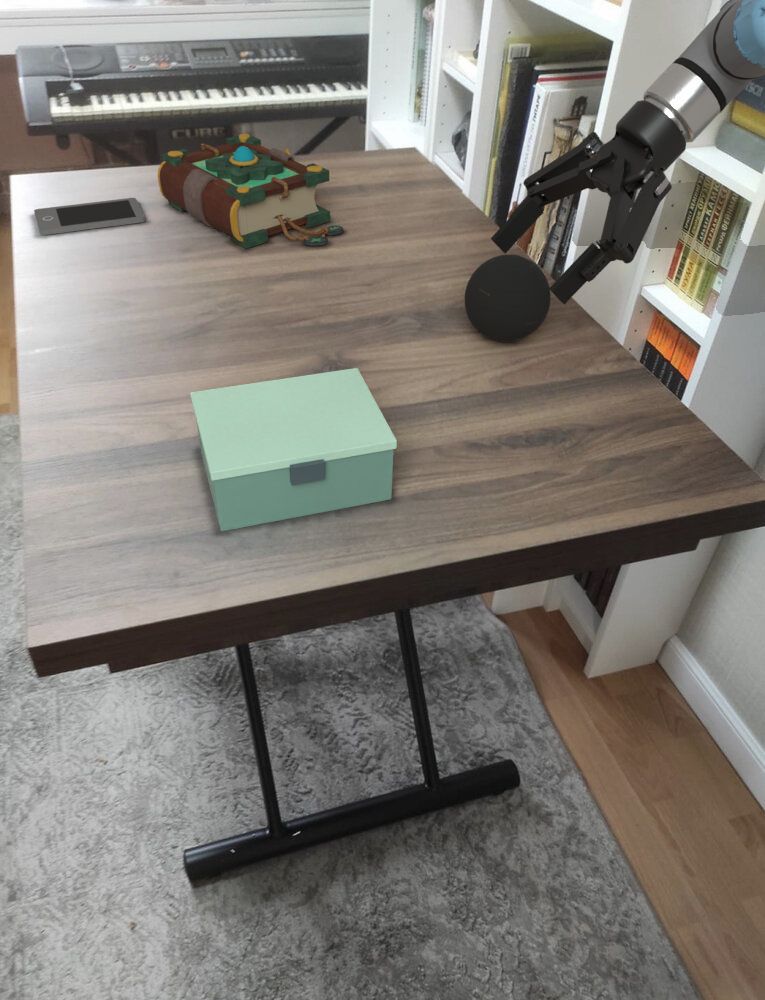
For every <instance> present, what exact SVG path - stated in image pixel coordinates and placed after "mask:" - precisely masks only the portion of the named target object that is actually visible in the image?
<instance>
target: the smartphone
mask: <svg viewBox="0 0 765 1000" xmlns="http://www.w3.org/2000/svg"><path fill="white" fill-rule="evenodd" d="M33 212H34V216H35V221H36V224H37V227H38V233H39V235H40V236H48V235H54V234H63V233H70V232H78V231H86V230H94V229H102V228H110V227H116V226H117V227H118V226H125V225H133V224H139V223H144V222H146V218H145V214H144V212H143V211H142V208H141V207H140V204H139V203H138V200H137V198H136V197H127V198H118V199H108V200H101V201H91V202H83V203H76V204H67V205H60V206H51V207H43V208H36V209H33Z"/></svg>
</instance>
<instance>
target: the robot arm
mask: <svg viewBox="0 0 765 1000" xmlns="http://www.w3.org/2000/svg"><path fill="white" fill-rule="evenodd" d="M763 76H765V0H726V2H725V3H724V4H723V5H722V6H721V8H720V9H719V12H718V13H717V14H716V15H715V16H714V17H713V18H712V19H711V20H710V22H709V23H707V25H706V26H705V27H704V28H703V29H702V31H700V32H699V33H698V35H697V36H696V37H695V38H694V39H693V40H692V41H691V43H690V44H689V45H688V46H687V47H686V48H685V49H684V51H683V52H682V53H681V54H679V56H678V57H677V58H676V59H675V60H674V61H673V62H672V63H671V64H670V65H669V66H668V67H667V68H666V69H665V70H664V71H663V72H662V73H661V74H660V75H659V76H658V77H657V78H656V80H654V82H653V83H652V84H651V85H650V86H649V87H648V88H647V89H646V90H645V91H644V92H643V97H642V98H643V100H637V101H636V102H635V103H634V104H633V105H632V106H631V107H630V108H629V109H628V110H627V111H626V113H625V114H623V116H622V117H621V118H620V119H618V121H617V123H616V125H615V134H614V136H613V137H612V138H611V139H610V140H608V141H607V142H605V143H604V142H603V140H602V139H601V138H600V136H599V135H598V133H597V132H596V131H592V132H590V133H589V134H587V136H586V137H585V138H584V139H583V140H582V141H581V142H580V143H579V144H578V145H576V146H574V147H573V148H571V149H570V150H568V151H566V152H565V153H563V154H562V155H560V156H559V157H557V158H556V159H553V160H552V161H551V162H549V163H548V164H546V165H545V166H543V167H542V168H540V169H539V170H537V171H536V172H533V173H532V174H531V175H529V176H527V177H526V178H525V179H524V180H523V183H522V184H523V186H524V187H525V189H526V196H525V197H524V198H523V200H521V202H520V203H518V205H517V206H516V207H515V208H514V210H513V211H512V212H510V215H509V218H507V220H506V221H505V222H504V223H503V224H502V225H501V226H500V227H499V228H498V230H497V231H496V232H495V233H494V234H493V235H492V236H491V238H490V240H491V241H492V243H494V244H495V245H496V246H497V247H498V248H499V250H500V251H501V252H502V253H504V255H507V253H508V251H510V249H511V248H512V247H513V246H514V245H516V243H517V242H518V241H519V240H520V239H521V238H522V237H523V236H524V234H525V233H526V232H527V231H528V230H529V229H530V228H531V227H532V226H533V224H535V222H537V220H538V219H539V218H540V217H541V216H542V215H543V214H544V211H545V206H548V205H550V204H552V203H554V202H557V201H560V200H562V199H564V198H566V197H567V198H568V197H570V196H572V195H574V194H577V193H580V192H582V191H585V190H588V189H589V190H595V189H597V190H598V191H600V192H602V193H606V194H607V195H608V196H609V198H610V200H609V203H608V206H607V211H606V214H605V220H604V224H603V228H602V233H601V236H600V239H598V240H596V241H595V243H596V244H595V243H594V242H591V243H590V245H589V246H588V247H587V248H586V249H585V250H584V251H583V252H582V253H581V254H580V255H579V256H578V257H577V258H576V259H575V260H574V261H573V262H572V263H571V264H570V266H569V267H567V269H566V270H565V271H563V273H561V275H560V276H559V277H558V278H557V279H556V280H555V281H554V282H553V283H552V284H551V286H549V287H550V288H549V289H550V292H551V293H552V294H553V295H554V296H555V297H556V298H557V299H558V300H559V301H560V302H561V303H562V304H563V305H564V306H565V305H566V304H567V302H568V301H569V300H570V299H572V298H573V297H574V295H575V294H576V293H577V292H579V290H580V289H581V288H582V287H583V286H584V285H585V284H586V283H587V282H588V283H590V282H592V281H593V280H595V278H596V277H597V276H599V274H600V273H601V272H602V271H603V270H604V269H605V268H606V267H607V266H608V265H609V264H610V263H611V262H615V261H622V263H624V264H626V265H627V264H630V263H632V262H633V260H634V259H635V257H636V255H637V252H638V250H639V249H640V247H641V244H642V241H643V240H644V238H645V235H646V233H647V231H648V229H649V227H650V225H651V223H652V220H653V218H654V217H655V214H656V212H657V210H658V207H659V205H660V203H661V202H662V201H663V200H664V198H666V196H667V195H668V194H669V192H670V191H671V190H672V188H673V185H672V183H671V182H670V180H669V178H668V177H667V175H666V173H665V172H666V171H667V170H668V169H669V168H670V167H671V165H673V164H674V162H675V161H677V159H678V158H679V157H680V156H681V155H682V154H683V153H684V152H685V151H686V149H687V148H686V147H687V143H693V142H695V140H696V139H697V138H698V137H699V136H700V135H701V134H702V133H703V132H704V131H705V129H706V128H708V126H709V125H711V123H712V122H713V121H714V120H715V119H716V118H717V117H718V116H719V115H720V114H721V113H722V112H723V111H724V110H725V108H726V107H727V106H728V105H729V104H730V103H731V102H732V101H733V100H734V99H735V98H736V97H738V95H740V93H741V92H742V91H743V90H744V89H745V88H746V87H747V86H748V85H749V84H750V83H751V82H752V81H754V80H755V79H758V78H761V77H763ZM638 190H639V192H638ZM637 192H638V193H637Z"/></svg>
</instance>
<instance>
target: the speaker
mask: <svg viewBox="0 0 765 1000" xmlns="http://www.w3.org/2000/svg"><path fill="white" fill-rule="evenodd" d="M550 287H551V286H550V284H549V281H548V279H547V276H546V274H545V273H544V272H543V270H542V269H541V268H540V267H539V266H538V264H536V263H535V262H534V261H532V260H530V259H528V258H527V257H525V256H521V255H518V254H501V255H496V256H494V257H491V258H489V259H487V260H486V261H484V262H483V263H481V264H480V265H479V266H478V267H477V268H476V269H475V270H474V271H473V273H472V274H471V276H470V277H469V279H468V282H467V284H466V287H465V292H464V308H465V313H466V315H467V318H468V321H470V323H471V325H472V326H473V327H474V329H475V330H476V331H477V332H478V333H480V334H481V335H482V336H484V337H486V338H488V339H490V340H492V341H495V342H501V343H510V342H511V343H512V342H516V341H517V342H518V341H520V340H523V339H525V338H527V337H529V336H530V335H532V334H533V333H535V332H536V331H537V330H538V329H539V328H540V326H541V325H542V324H543V323H544V321H545V320H546V318H547V315H548V313H549V309H550V307H551V298H552V297H551V296H552V295H551V290H550V289H549V288H550Z"/></svg>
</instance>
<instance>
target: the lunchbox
mask: <svg viewBox="0 0 765 1000" xmlns="http://www.w3.org/2000/svg"><path fill="white" fill-rule="evenodd" d="M189 397H190V400H191V405H192V409H193V413H194V417H195V421H196V427H197V433H198V441H199V447H200V453H201V457H202V462H203V466H204V471H205V474H206V478H207V482H208V486H209V489H210V493H211V497H212V501H213V506H214V509H215V510H214V511H215V514H216V519H217V522H218V527H219V530H220V532H226V531H232V530H237V529H243V528H247V527H253V526H259V525H263V524H269V523H274V522H278V521H279V522H280V521H284V520H290V519H294V518H300V517H306V516H311V515H316V514H322V513H327V512H332V511H337V510H343V509H348V508H352V507H358V506H359V507H360V506H364V505H369V504H373V503H379V502H385V501H388V500H389V501H391V500H392V497H393V496H392V494H393V493H392V492H393V471H394V452H395V451H394V450H396V449H397V448H398V441H397V440H398V439H397V438H396V436H395V435H394V432H393V431H392V429H391V427H390V426H389V424H388V422H387V420H386V418H385V416H384V414H383V412H382V411H381V409H380V406H379V405H378V403H377V401H376V399H375V397H374V396H373V394H372V392H371V391H370V388H369V386H368V385H367V382H366V380H365V379H364V377H363V375H362V374H361V371H360V370H359V368H358V367H353V368H347V369H339V370H332V371H327V372H319V373H313V374H305V375H298V376H291V377H286V378H279V379H273V380H265V381H258V382H251V383H244V384H238V385H237V384H236V385H231V386H223V387H218V388H210V389H205V390H197V391H191V392H189Z"/></svg>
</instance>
